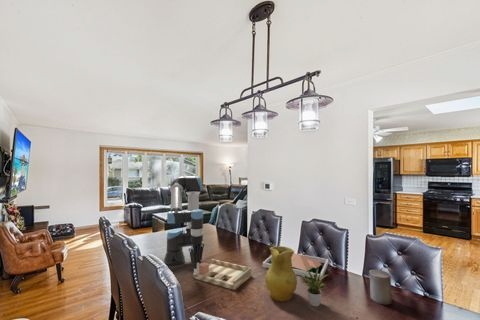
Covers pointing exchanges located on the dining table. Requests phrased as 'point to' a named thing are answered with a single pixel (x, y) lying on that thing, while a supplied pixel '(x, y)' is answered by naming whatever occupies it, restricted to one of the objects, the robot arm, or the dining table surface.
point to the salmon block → (203, 268)
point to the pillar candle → (380, 286)
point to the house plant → (314, 288)
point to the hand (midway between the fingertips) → (196, 273)
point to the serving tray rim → (299, 272)
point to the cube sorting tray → (225, 274)
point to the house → (304, 262)
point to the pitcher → (281, 274)
